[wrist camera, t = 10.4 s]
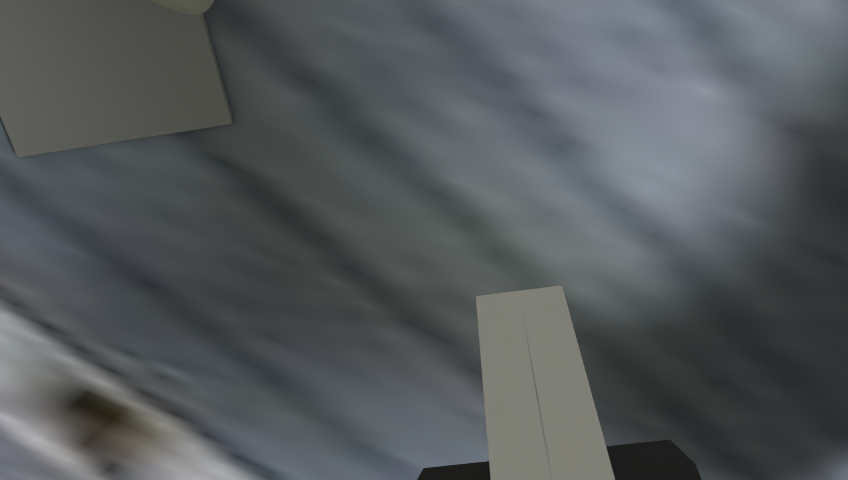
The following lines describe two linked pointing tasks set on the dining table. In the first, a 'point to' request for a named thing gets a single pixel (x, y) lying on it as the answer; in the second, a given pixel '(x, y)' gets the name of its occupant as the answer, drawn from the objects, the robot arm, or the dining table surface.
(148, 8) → the mat
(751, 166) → the dining table surface
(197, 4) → the digital clock
